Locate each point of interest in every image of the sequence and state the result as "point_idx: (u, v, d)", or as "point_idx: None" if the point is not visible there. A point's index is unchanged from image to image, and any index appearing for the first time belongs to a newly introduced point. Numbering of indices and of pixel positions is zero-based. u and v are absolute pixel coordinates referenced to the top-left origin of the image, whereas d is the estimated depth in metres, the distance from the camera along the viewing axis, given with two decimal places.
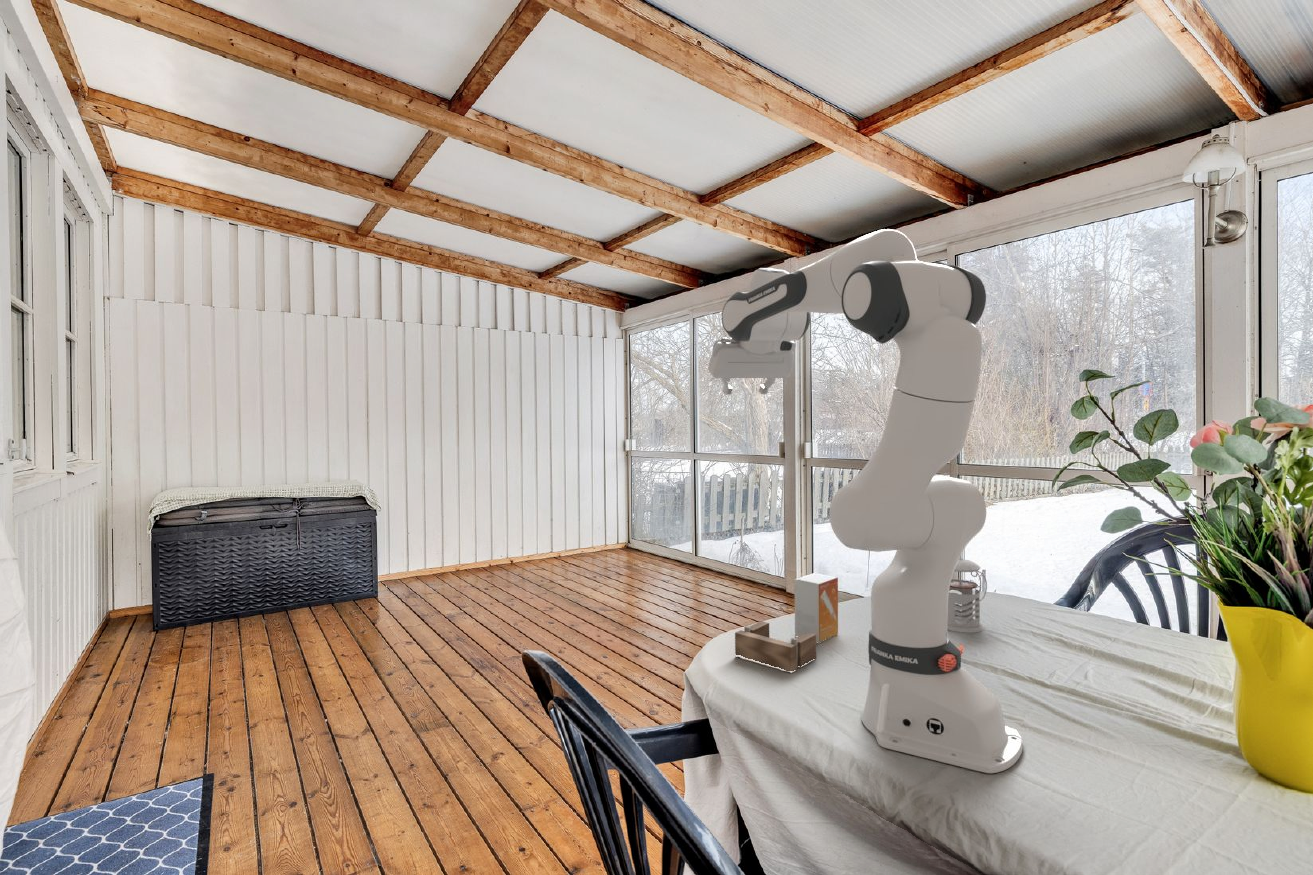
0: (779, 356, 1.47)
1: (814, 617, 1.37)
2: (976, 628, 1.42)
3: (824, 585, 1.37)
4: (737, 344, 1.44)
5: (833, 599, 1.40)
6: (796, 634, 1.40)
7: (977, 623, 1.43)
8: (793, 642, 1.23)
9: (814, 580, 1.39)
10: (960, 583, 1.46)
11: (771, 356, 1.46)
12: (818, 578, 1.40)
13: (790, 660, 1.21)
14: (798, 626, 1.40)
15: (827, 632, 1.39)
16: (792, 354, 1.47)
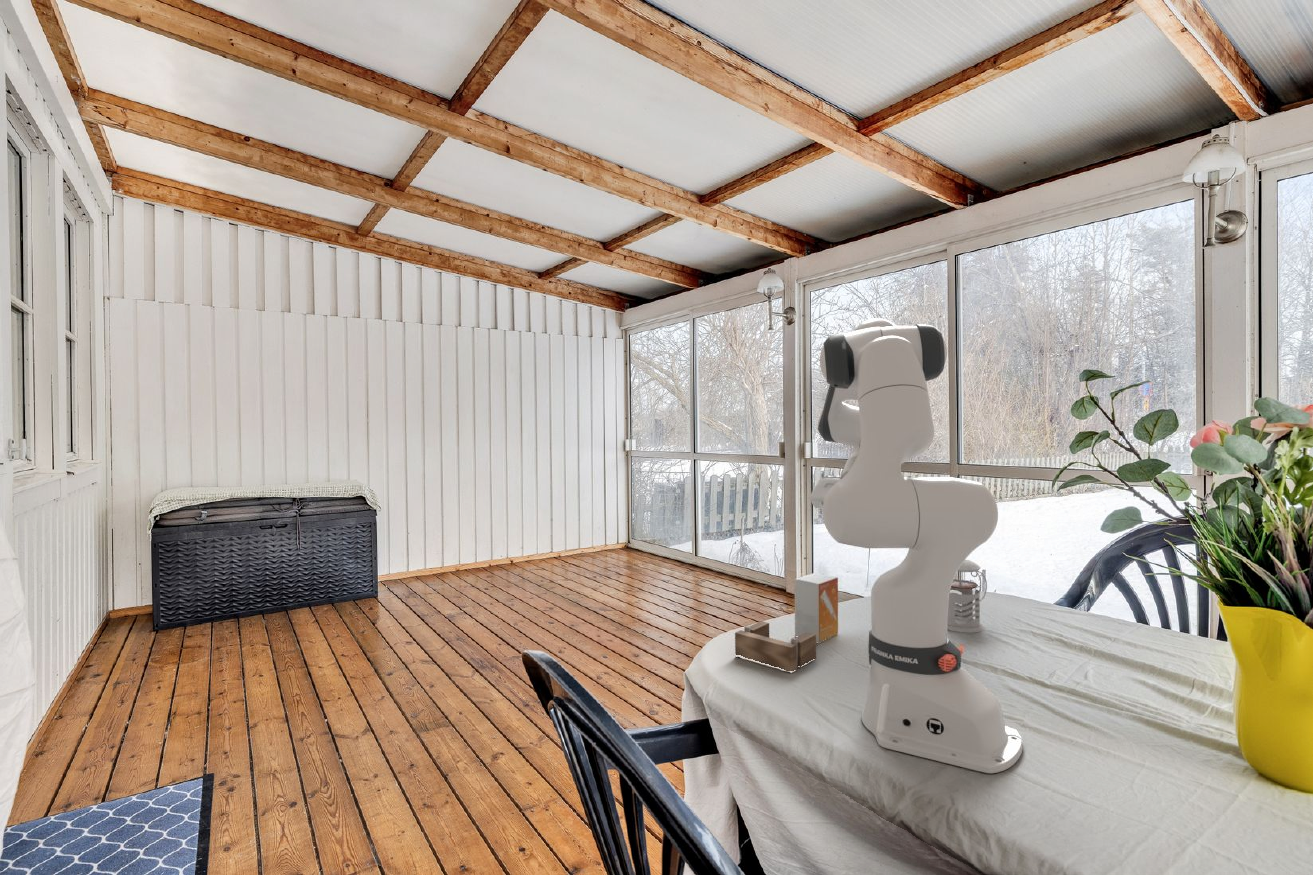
0: None
1: (814, 617, 1.37)
2: (976, 628, 1.42)
3: (824, 585, 1.37)
4: None
5: (833, 599, 1.40)
6: (796, 634, 1.40)
7: (977, 623, 1.43)
8: (793, 642, 1.23)
9: (814, 580, 1.39)
10: (960, 583, 1.46)
11: None
12: (818, 578, 1.40)
13: (790, 660, 1.21)
14: (798, 626, 1.40)
15: (827, 632, 1.39)
16: None
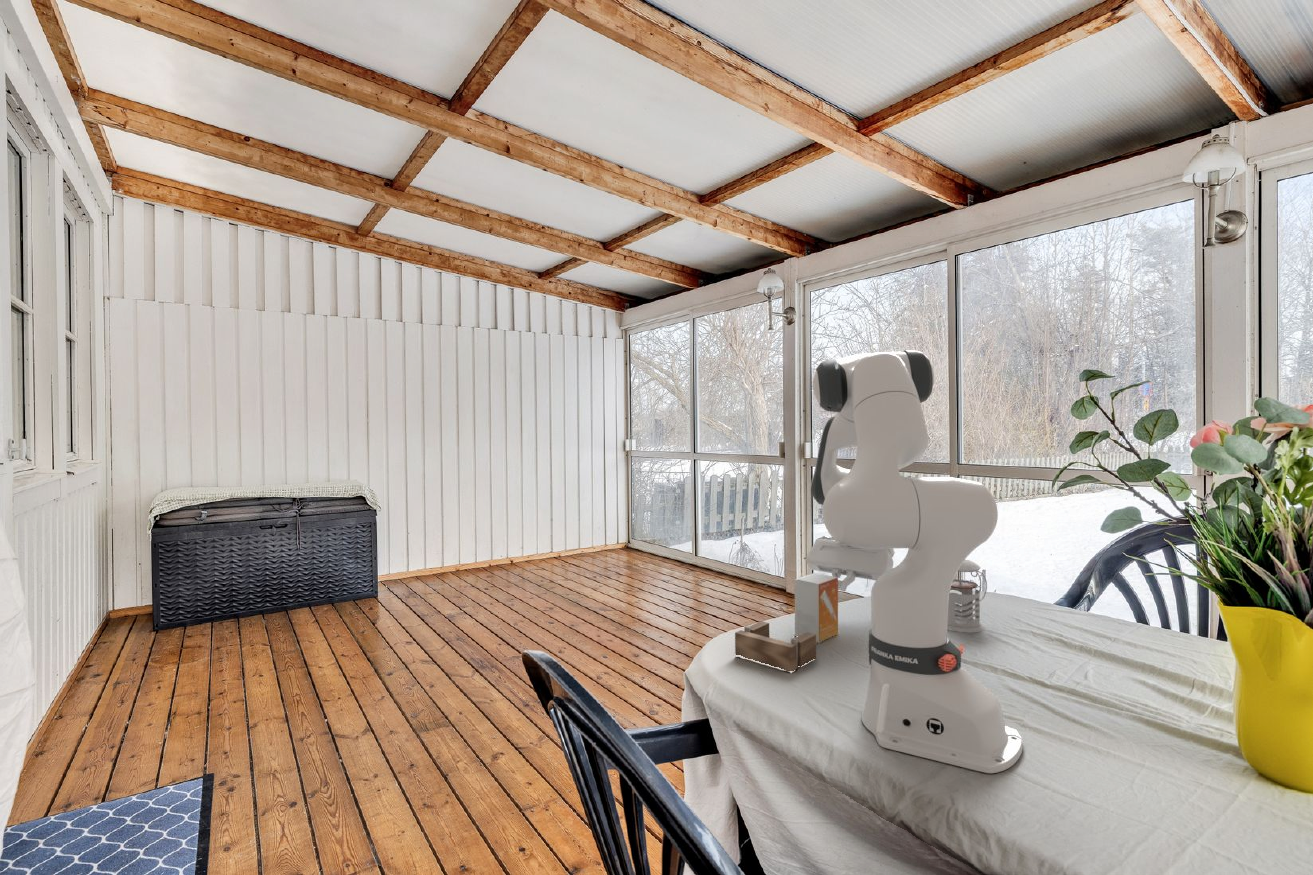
0: (872, 550, 1.48)
1: (814, 617, 1.37)
2: (976, 628, 1.42)
3: (824, 585, 1.37)
4: None
5: (833, 599, 1.40)
6: (796, 634, 1.40)
7: (977, 623, 1.43)
8: (793, 642, 1.23)
9: (814, 580, 1.39)
10: (960, 583, 1.46)
11: (863, 550, 1.50)
12: (818, 578, 1.40)
13: (790, 660, 1.21)
14: (798, 626, 1.40)
15: (827, 632, 1.39)
16: (884, 548, 1.47)
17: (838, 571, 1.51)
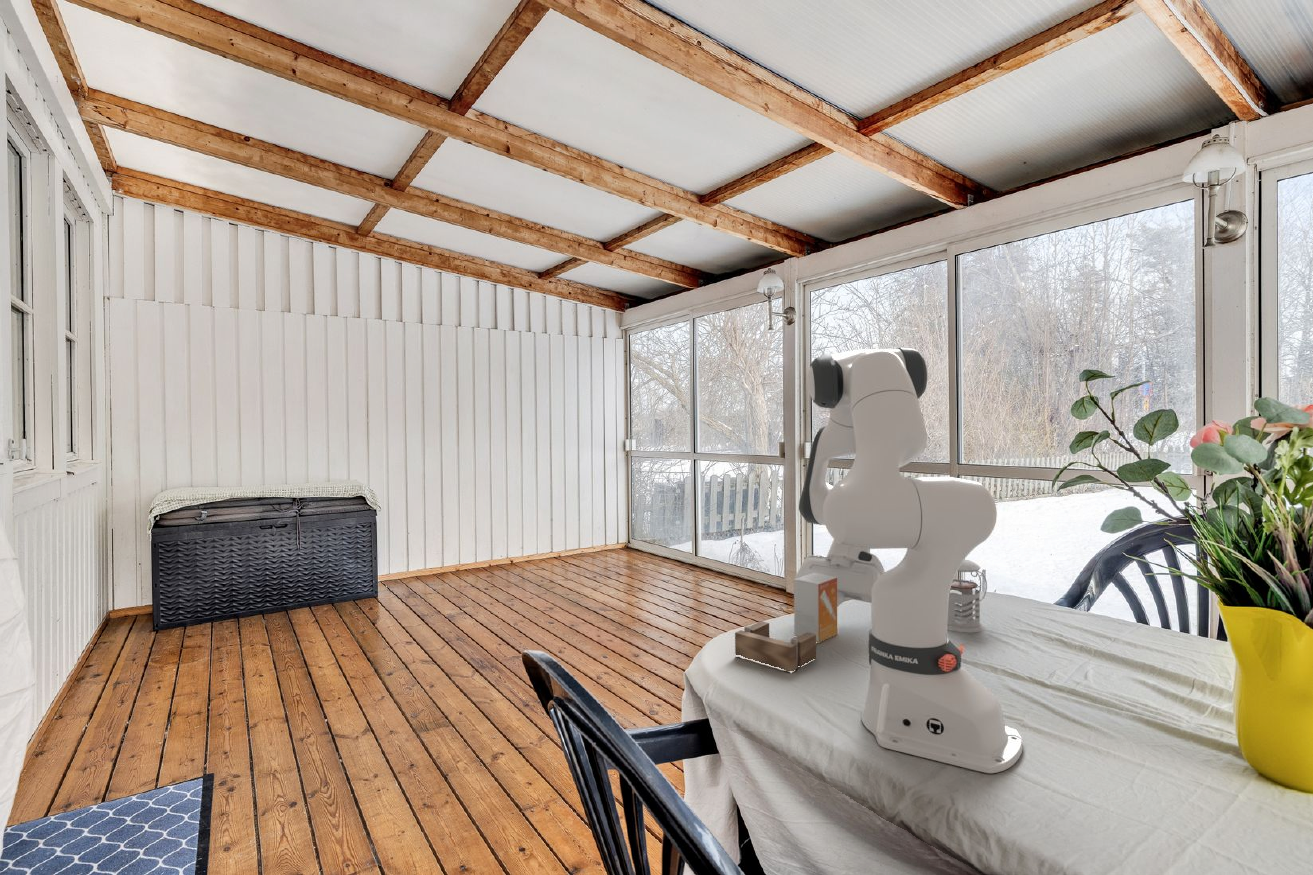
0: (861, 570, 1.44)
1: (814, 617, 1.37)
2: (976, 628, 1.42)
3: (823, 585, 1.37)
4: None
5: (832, 599, 1.40)
6: (795, 634, 1.40)
7: (977, 623, 1.43)
8: (793, 642, 1.23)
9: (814, 580, 1.38)
10: (960, 583, 1.46)
11: (853, 570, 1.46)
12: (817, 578, 1.40)
13: (790, 660, 1.21)
14: (798, 626, 1.40)
15: (826, 632, 1.38)
16: (874, 568, 1.42)
17: None
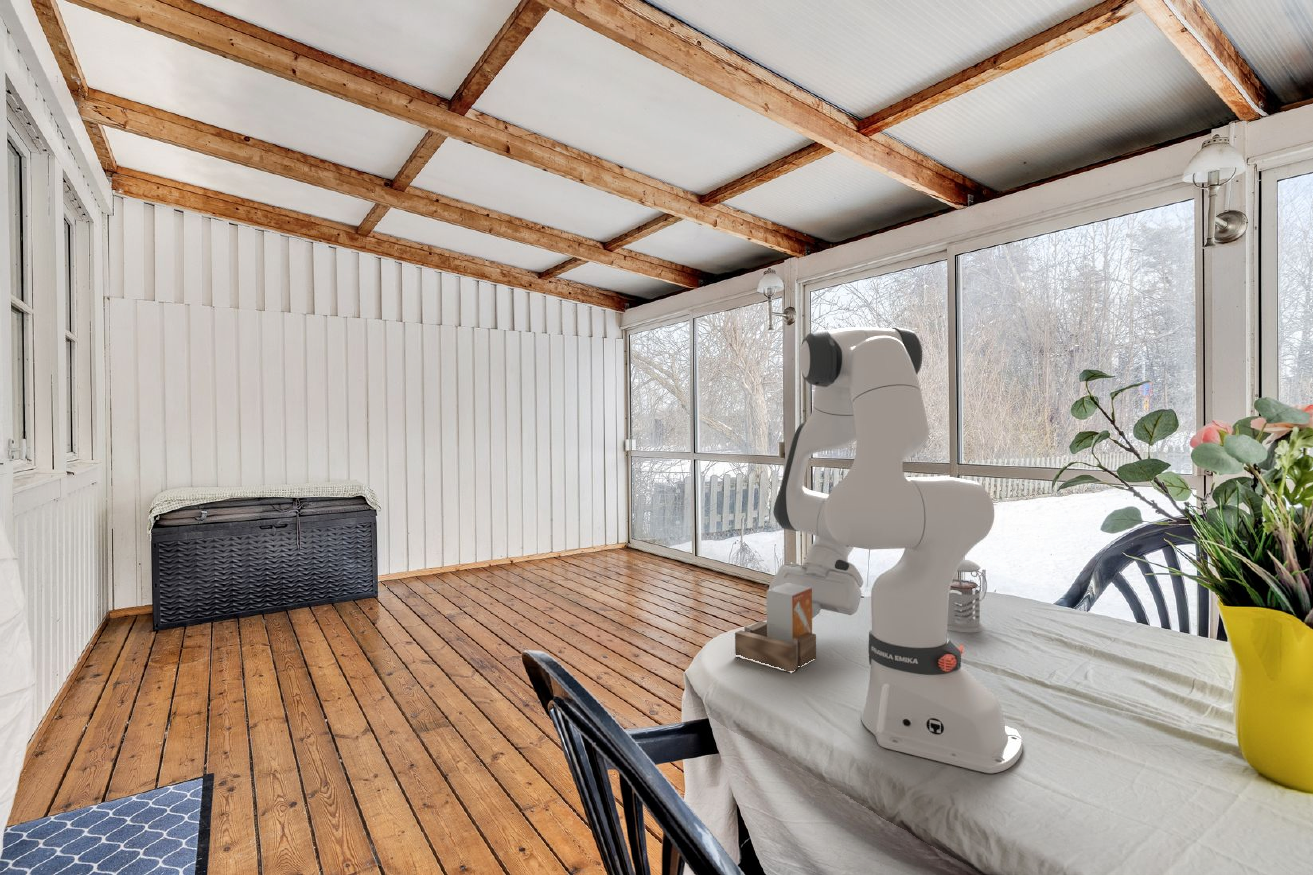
0: (838, 580, 1.36)
1: (788, 630, 1.28)
2: (976, 628, 1.42)
3: (798, 596, 1.29)
4: None
5: (807, 611, 1.32)
6: None
7: (977, 623, 1.43)
8: (793, 642, 1.23)
9: (787, 591, 1.30)
10: (960, 583, 1.46)
11: (829, 579, 1.38)
12: (791, 589, 1.32)
13: (790, 660, 1.21)
14: None
15: None
16: (851, 578, 1.34)
17: None
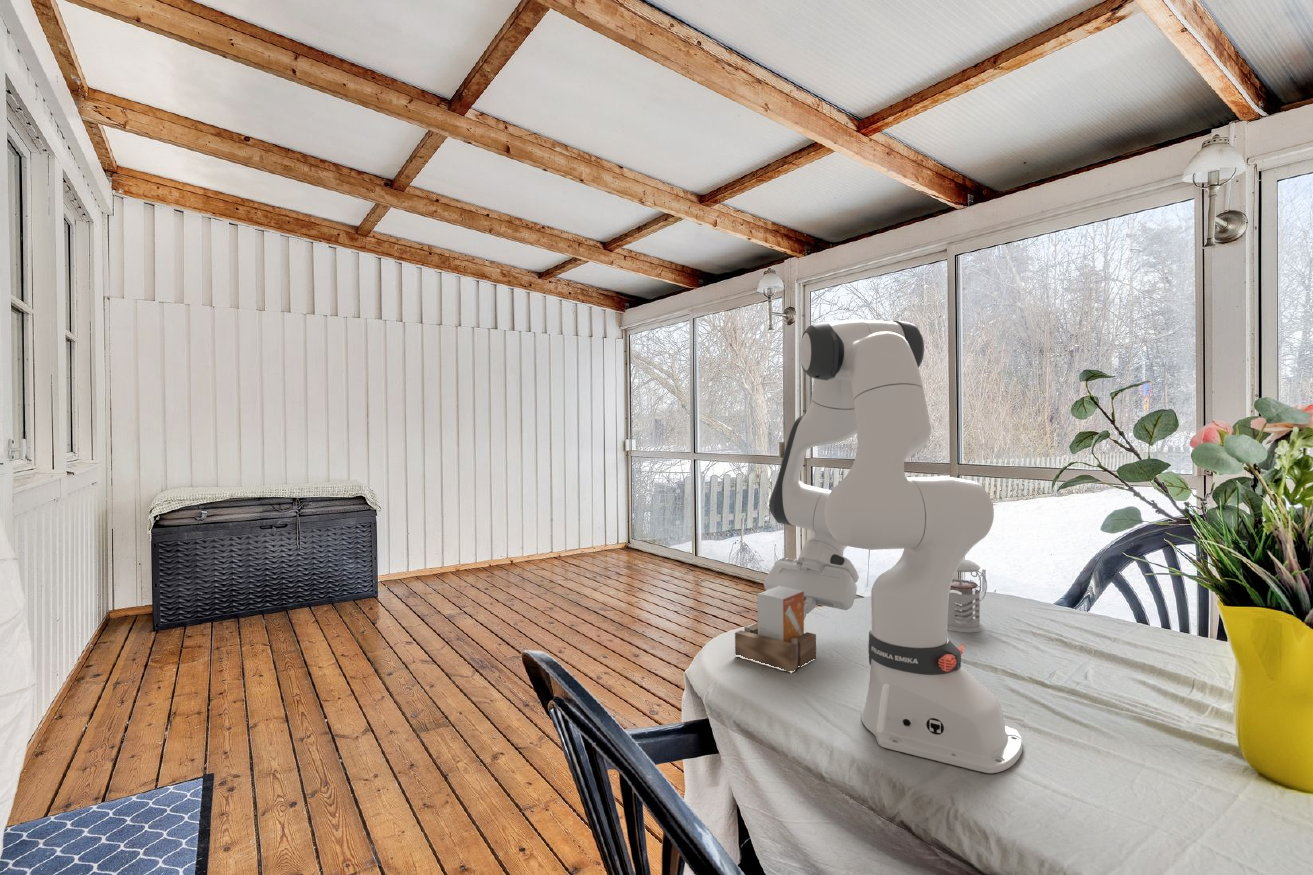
0: (833, 575, 1.35)
1: (778, 635, 1.26)
2: (976, 628, 1.42)
3: (789, 600, 1.27)
4: None
5: (799, 615, 1.30)
6: None
7: (977, 623, 1.43)
8: (793, 642, 1.23)
9: (778, 595, 1.28)
10: (960, 583, 1.46)
11: (825, 574, 1.36)
12: (783, 592, 1.30)
13: (790, 660, 1.21)
14: None
15: None
16: (846, 572, 1.33)
17: None
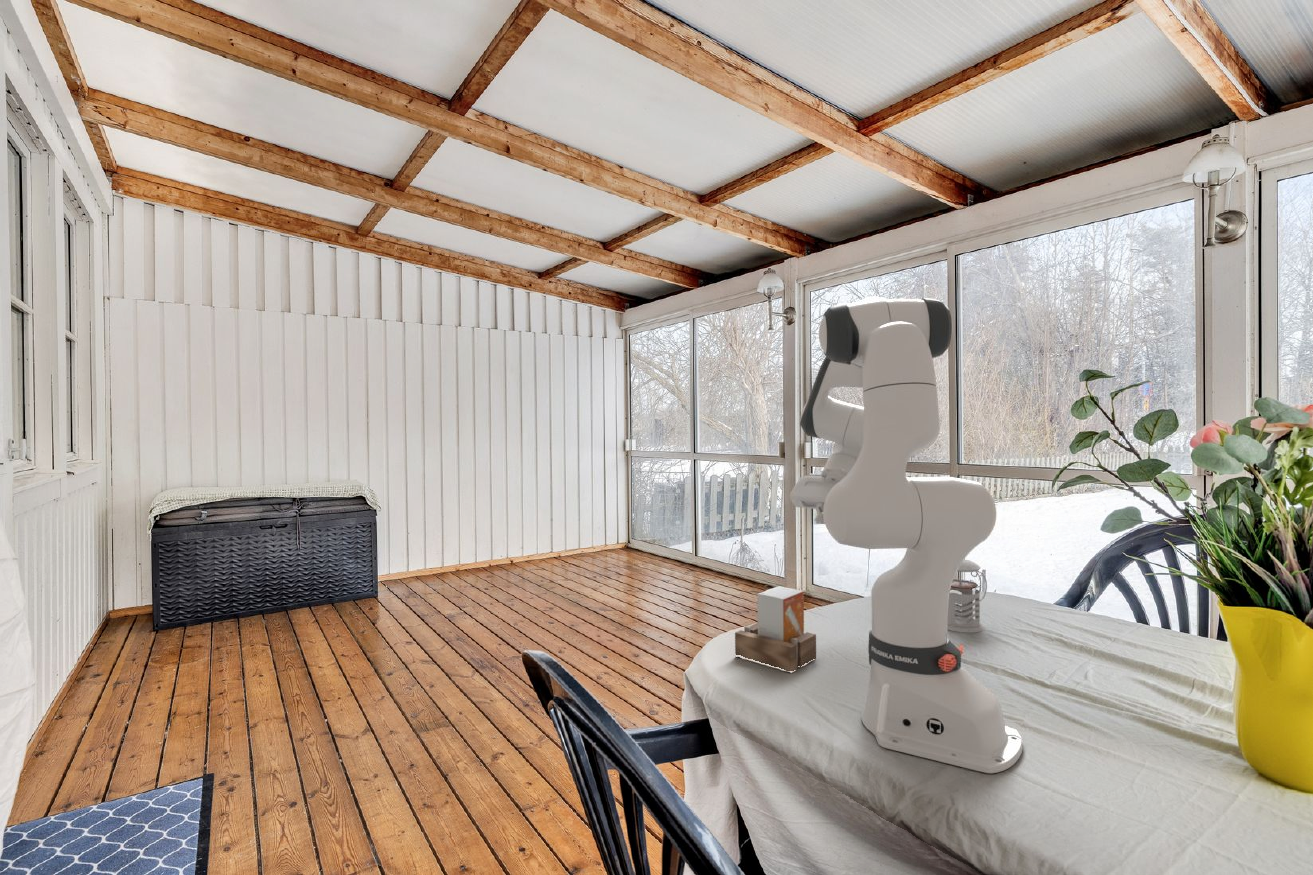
0: None
1: (779, 635, 1.26)
2: (976, 628, 1.42)
3: (789, 600, 1.27)
4: None
5: (799, 615, 1.30)
6: None
7: (977, 623, 1.43)
8: (793, 642, 1.23)
9: (778, 595, 1.28)
10: (960, 583, 1.46)
11: None
12: (783, 592, 1.30)
13: (790, 660, 1.21)
14: None
15: None
16: None
17: (822, 505, 1.45)
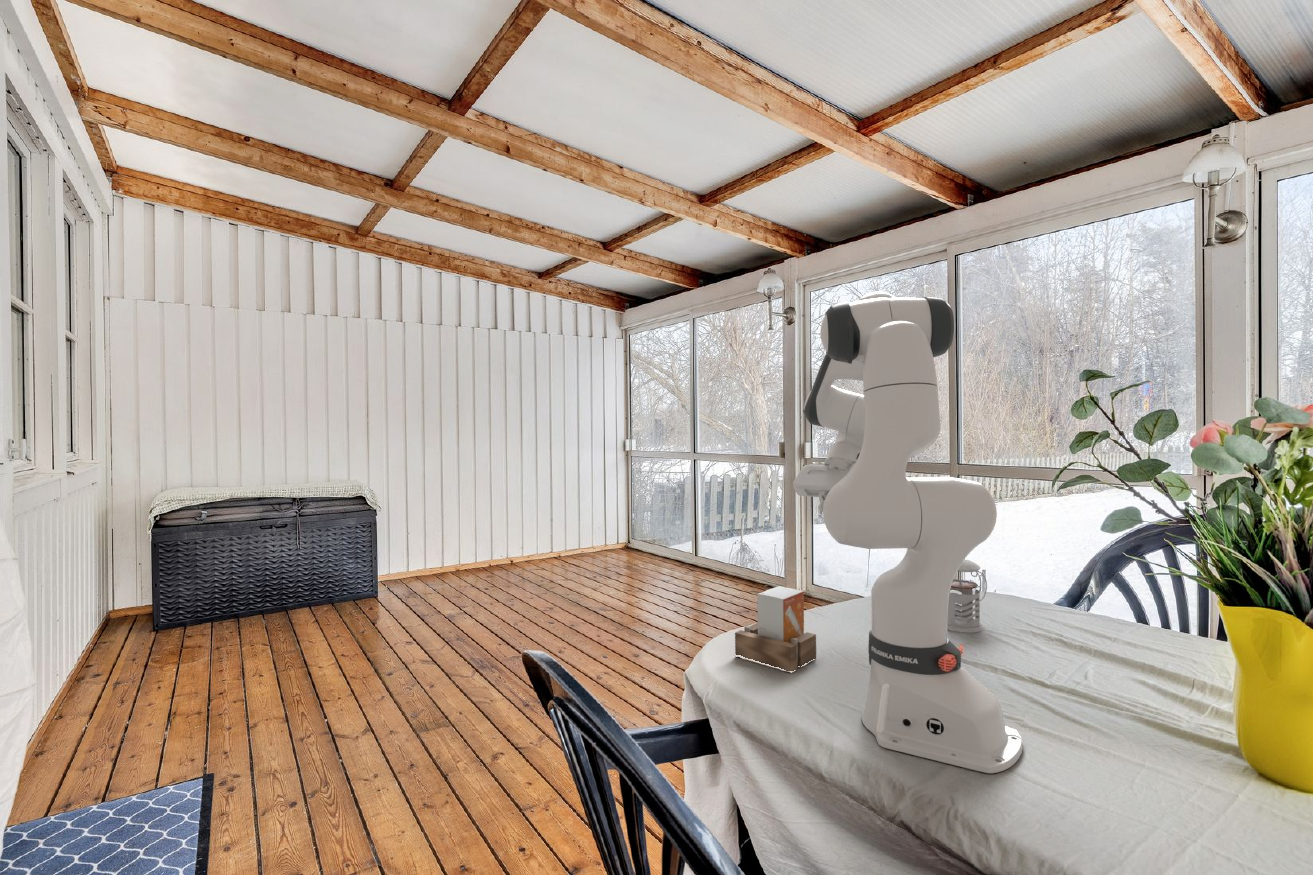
0: None
1: (779, 635, 1.26)
2: (976, 628, 1.42)
3: (789, 600, 1.27)
4: None
5: (799, 615, 1.30)
6: None
7: (977, 623, 1.43)
8: (793, 642, 1.23)
9: (778, 595, 1.28)
10: (960, 583, 1.46)
11: None
12: (783, 592, 1.30)
13: (790, 660, 1.21)
14: None
15: None
16: None
17: (825, 493, 1.46)
